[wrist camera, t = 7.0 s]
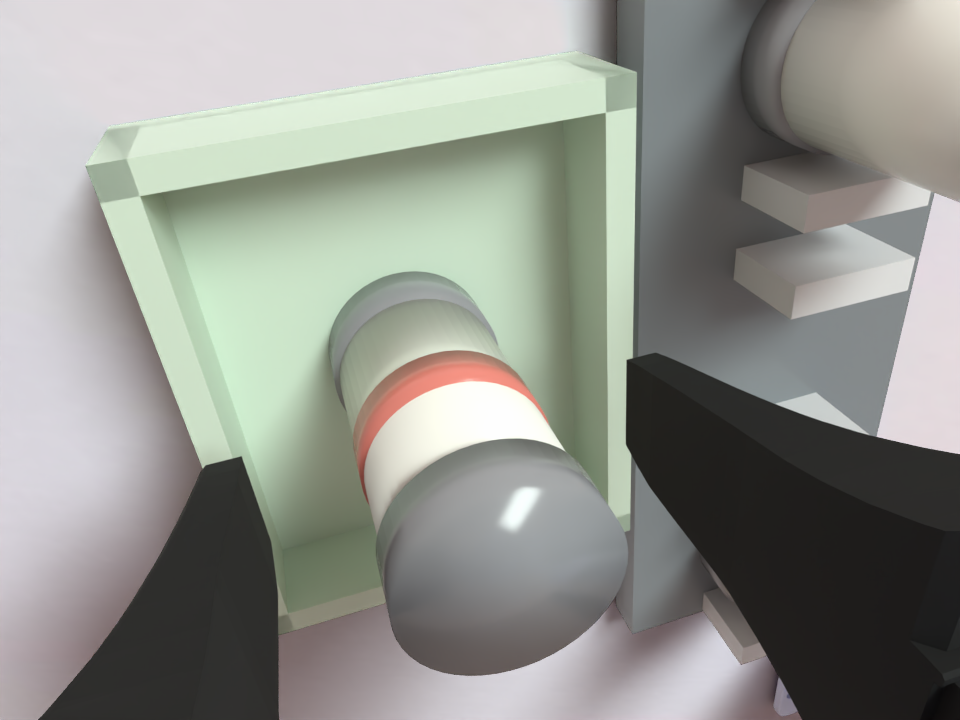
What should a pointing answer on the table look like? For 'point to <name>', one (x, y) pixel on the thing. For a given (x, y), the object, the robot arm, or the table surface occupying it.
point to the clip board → (748, 271)
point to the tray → (379, 273)
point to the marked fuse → (467, 485)
